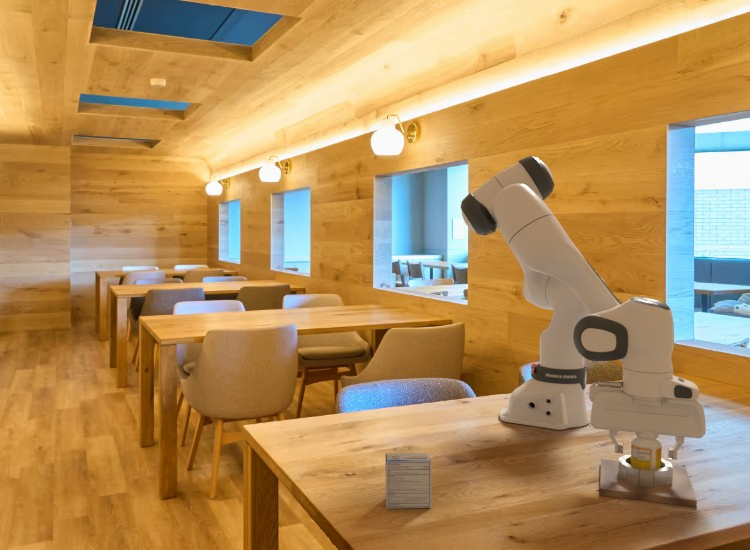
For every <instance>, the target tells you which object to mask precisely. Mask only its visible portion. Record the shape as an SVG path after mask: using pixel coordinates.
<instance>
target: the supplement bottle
mask: <svg viewBox="0 0 750 550" xmlns="http://www.w3.org/2000/svg"><path fill="white" fill-rule="evenodd" d="M634 433H635V436H634V437H633V438H632V440H631V446H630V448H631V449H630V455H631V466H635V467H638V468H644V469H661V458H662V450H663V448H662V446H663V445H662V442H661V440H660V439H658V437H659V435H657V434H653V433H652V432H649V431H644V432H643V433H636V432H634Z"/></svg>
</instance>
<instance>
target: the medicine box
mask: <svg viewBox="0 0 750 550" xmlns="http://www.w3.org/2000/svg"><path fill="white" fill-rule="evenodd" d="M432 463H433V462H432V460H431V456H430V453H428V452H387V453H385V464H384V465H385V469H384V470H385V506H386V508H385V509H387V510H392V509H393V510H394V509H396V510H397V509H431V508H432Z"/></svg>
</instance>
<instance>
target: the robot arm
mask: <svg viewBox="0 0 750 550" xmlns="http://www.w3.org/2000/svg"><path fill="white" fill-rule="evenodd" d="M554 189H555V182H554V177H553V173H552V170H551V169H550V168H549V166H548V165H547V164H546V163H545V162H543V161H542V160H541V159H539V157H536V156H533V155H529V156H526V157H523V158H520V159H519V160H518V162H517V163H515V164H514V163H513V165H510V166H508V167H507V168H505V169H503V170H501V171H499V172H497V173H495V174H494V175H493V177H491V178H490V179H488V180H487V181H485V182H484V183H482V184H481V185H480V186H479V187H477V188H476V190H474V191H473V192H469V193H468V194H467V195H466V196H465V197H464V198H463V199H462V200H461V201H460V202H461V203H460V209H461V216H462V219H463V222H464V223H465V224H466V226H467V227H468V229H470V231H473V232H474V233H476V234H477V235H478V236H488V235H491V234H493V233H494V234H495V233H496V231H497V230H499V232H500V234H501V235H502V237H503V239H504V241H505V242H506V244H507V246H508V247H509V248H510V250H511V252H512V254H513V255H514V257H515V259H516V260H517V261H518V264H519V266H520V267H521V271H522V273H523V277H524V279H523V282H522V294H523V296H524V299H525V300H526V301H527V302H528V303H530V304H532V305H534V306H535V307H538V308H540V309H544V310H549V311H550V310H551V311H552V317H551V321H550V323H549V325H548V326H547V327H546V328H545V329H544V330H542V332H541V333H540V336H539V363H538V362H537V361H536V362H532V364H531V365H530V376H531V378H529V379H528V380H527V381H525V382H524V383H522V384H521V385H519V386H518V387H516V388H515V389H514V390H513V391H512V392H511V395H510V397H509V400H508V405H507V406H505V407H503V408H501V410H500V412H499V419H500V420H501V421H503V422H504V423H505V422H506V423H511V424H517V425H524V426H532V427H537V428H543V429H544V428H545V429H550V430H551V429H552V430H557V431H558V430H561V431H562V430H566V429H570V428H579V427H583V426H587V425H589V424H590V425H591V426H592V428H593V429H597V430H606V431H609V435H608V436H609V438H610V440H611V441H612V442H613V444H614V453H615V454H619V455H620V454H623V455H624V442H619V441H618V439H617V436H618V432H626V433H627V432H628V433H635V432H636V433H643V432H644V431H649V432H652V433H653V434H657V435H658V436H659V435H661V436H670V437H674V439H675V443H674V444H673V446H671V447H670V446H669V447H667V458H668V459H670V460H678V451H679V450H680V448H682V446H683V445H684V444H685V438H691V439H702V438H703V437H705V435H706V433H707V428H706V426H707V425H706V416H705V415H706V414H705V409H704V406H703V404H702V403H701V401H700V400H699V397H700V388H699V387H698V386H697V384H696V383H694V381H691V380H687V379H685V378H682V377H680V376H676V375H674V366H673V362H672V354H673V351H674V347H675V330H674V329H675V328H674V318H673V317H674V316H673V312H672V310H671V307H670V306H669V305H668V304H667V303H665V302H663V301H661V300H659V299H658V300H657V299H654V298H650V297H642V296H633V297H630V298H628V299H627V300H626V301H625V302H622V301H620V300H619V298H618V297H617V296H616V295H615V293H613V291H612V290H611V289H610V288H609V286H608V285H607V283H606V281H605V280H604V278H602V276H600V275H599V273H598V272H597V271H596V270H595V268H594V267H593V266H592V265H591V264H590V262H589V261H588V260H587V259H586V258H585V256H583V254H582V253H581V251H580V250H579V248H578V247H577V246H576V245H575V243H574V241H572V239H571V238H570V236H569V235H568V233H567V232H566V230H565V229H564V227H563V226H562V224H561V223H560V221H559V220H558V219H557V217H556V216H555V214H554V213H553V211H552V210H551V209H550V208H549V206H548V205H547V204H546V202H544V201H545V200H546V199H548V197H549V196H550V195H551V194H552V193H553V191H554ZM585 359H587V360H588V361H591V362H597V363H605V362H611V361H613V362H614V361H620V362H621V363H622V377H621V378H622V381H611V380H609V381H608V380H597V381H596V382H593V383H592V384H591V385H590V386H589V388H588V389H589V390H588V393H589V394H588V397H589V400H590V402H591V403H592V404H591V408H590V409H591V411H590V416H589V414H588V409H587V408H588V407H587V401H586V392H585V391H586V387H587V367H586V366H585ZM636 433H635V434H636Z"/></svg>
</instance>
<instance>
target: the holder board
mask: <svg viewBox="0 0 750 550" xmlns="http://www.w3.org/2000/svg"><path fill="white" fill-rule="evenodd" d="M687 470H688V469H687V467H679V466H678V467H677V466H673V464H672V462H669V461H668V460H666V459H664V458H663V457H661V469H644V468H638V467H635V466H631V454H625V455H624V454H623V455H622V456H619V457H618V460H613V459H612V460H611V459H604V458H603V459H602V458H600V481H599V484H600V485H599V495H600V496H603V497H612V498H621V499H626V500H627V499H628V500H634V501H635V500H637V501H643V502H651V503H660V504H669V505H677V506H683V507H684V506H685V507H693V508H698V507H697V505H698V500H697V497H696V494H695V491H694V488H693V486H692V483H691V479H690V476H689V474H688V471H687Z"/></svg>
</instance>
